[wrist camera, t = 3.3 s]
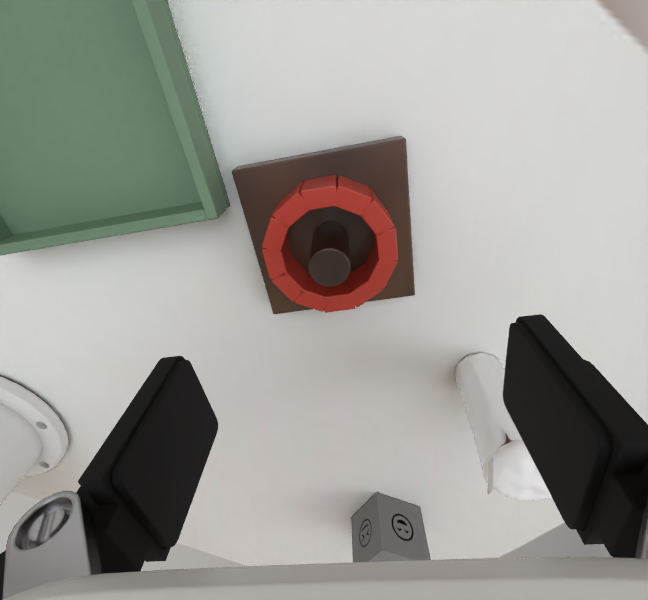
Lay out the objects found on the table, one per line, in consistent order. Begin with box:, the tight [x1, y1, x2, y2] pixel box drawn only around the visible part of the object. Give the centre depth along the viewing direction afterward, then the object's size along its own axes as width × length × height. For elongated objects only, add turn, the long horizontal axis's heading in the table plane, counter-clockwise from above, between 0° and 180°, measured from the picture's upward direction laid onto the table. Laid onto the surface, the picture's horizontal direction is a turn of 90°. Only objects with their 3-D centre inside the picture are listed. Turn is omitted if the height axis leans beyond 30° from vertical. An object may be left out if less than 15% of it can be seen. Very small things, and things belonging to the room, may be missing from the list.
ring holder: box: [232, 136, 415, 314], centre depth 19 cm, size 9×9×5 cm
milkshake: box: [455, 352, 552, 501], centre depth 22 cm, size 4×5×10 cm
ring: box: [262, 175, 398, 312], centre depth 19 cm, size 7×7×2 cm
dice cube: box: [351, 492, 431, 563], centre depth 34 cm, size 5×5×5 cm
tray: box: [0, 0, 230, 255], centre depth 17 cm, size 14×15×2 cm
